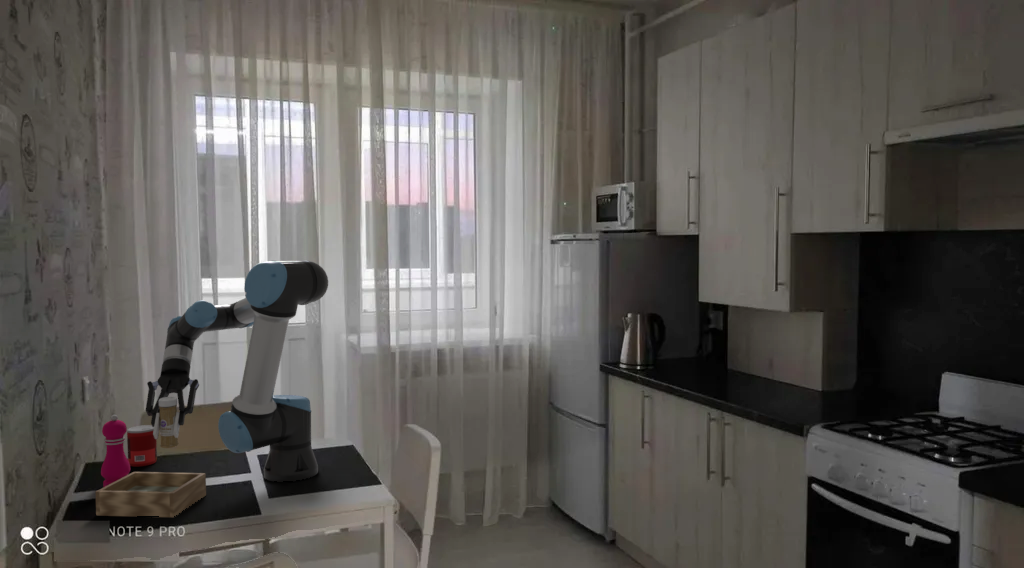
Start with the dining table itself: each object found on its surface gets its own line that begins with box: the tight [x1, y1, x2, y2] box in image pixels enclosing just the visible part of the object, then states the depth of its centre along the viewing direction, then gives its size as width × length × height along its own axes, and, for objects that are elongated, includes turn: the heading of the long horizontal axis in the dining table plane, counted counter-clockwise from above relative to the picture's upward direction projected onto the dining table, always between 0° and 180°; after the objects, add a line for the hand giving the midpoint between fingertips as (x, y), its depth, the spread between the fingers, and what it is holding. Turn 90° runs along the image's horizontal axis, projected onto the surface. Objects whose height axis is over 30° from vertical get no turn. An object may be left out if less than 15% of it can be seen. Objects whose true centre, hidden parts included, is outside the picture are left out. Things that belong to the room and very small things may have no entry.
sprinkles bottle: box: [159, 396, 179, 449], centre depth 200 cm, size 5×5×13 cm
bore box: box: [95, 471, 207, 518], centre depth 187 cm, size 20×16×6 cm
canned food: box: [126, 424, 158, 468], centre depth 224 cm, size 8×8×11 cm
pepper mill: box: [100, 414, 131, 488], centre depth 202 cm, size 7×7×20 cm
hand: (165, 435), depth 196 cm, fingers closed on sprinkles bottle, 4 cm apart
